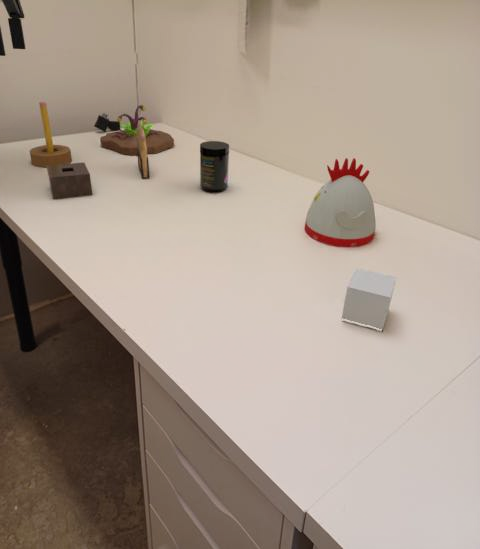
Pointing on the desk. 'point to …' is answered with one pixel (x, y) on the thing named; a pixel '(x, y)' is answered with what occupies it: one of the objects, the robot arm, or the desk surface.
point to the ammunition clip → (142, 152)
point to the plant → (128, 138)
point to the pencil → (46, 126)
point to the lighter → (106, 123)
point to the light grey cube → (368, 298)
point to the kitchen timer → (342, 209)
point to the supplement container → (214, 166)
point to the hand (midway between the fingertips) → (9, 52)
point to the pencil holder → (69, 180)
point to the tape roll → (50, 155)
